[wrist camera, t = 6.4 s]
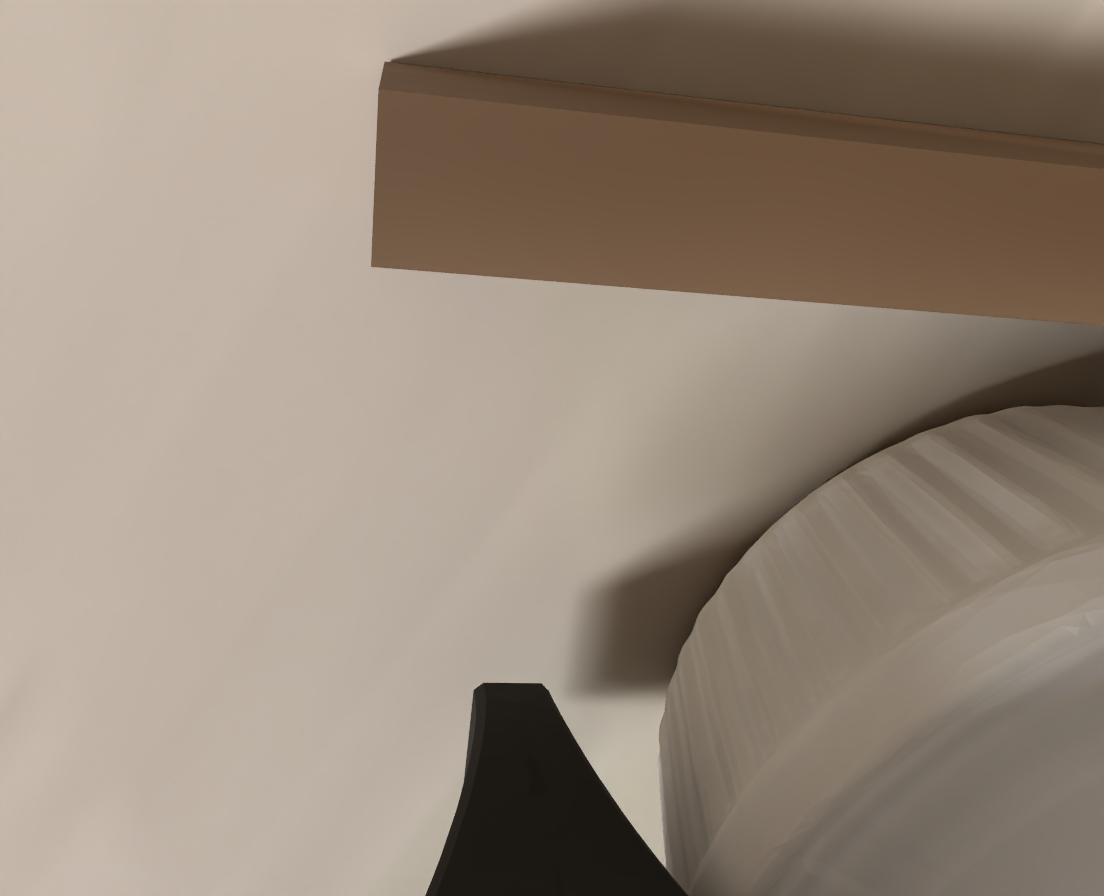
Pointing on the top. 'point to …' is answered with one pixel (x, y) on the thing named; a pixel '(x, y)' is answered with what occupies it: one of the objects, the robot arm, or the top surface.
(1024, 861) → the ramekin
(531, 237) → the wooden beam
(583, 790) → the robot arm
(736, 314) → the top surface
